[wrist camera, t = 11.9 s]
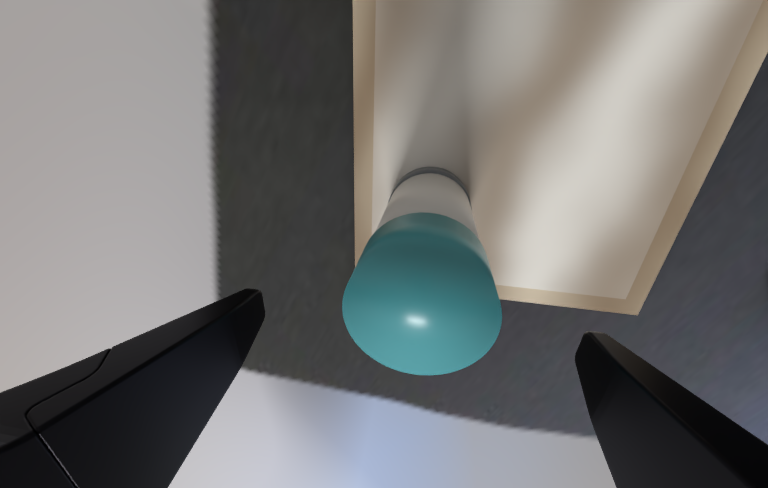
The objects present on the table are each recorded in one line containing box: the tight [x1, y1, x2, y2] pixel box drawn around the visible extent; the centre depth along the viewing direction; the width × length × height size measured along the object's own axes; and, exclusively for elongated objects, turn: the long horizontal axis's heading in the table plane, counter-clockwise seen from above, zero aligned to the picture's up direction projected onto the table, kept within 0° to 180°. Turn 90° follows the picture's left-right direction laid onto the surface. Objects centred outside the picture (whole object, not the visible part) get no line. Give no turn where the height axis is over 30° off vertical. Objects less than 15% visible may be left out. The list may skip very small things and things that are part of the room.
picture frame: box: [353, 0, 768, 315], centre depth 14 cm, size 16×20×1 cm
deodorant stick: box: [342, 167, 502, 375], centre depth 12 cm, size 4×4×9 cm
